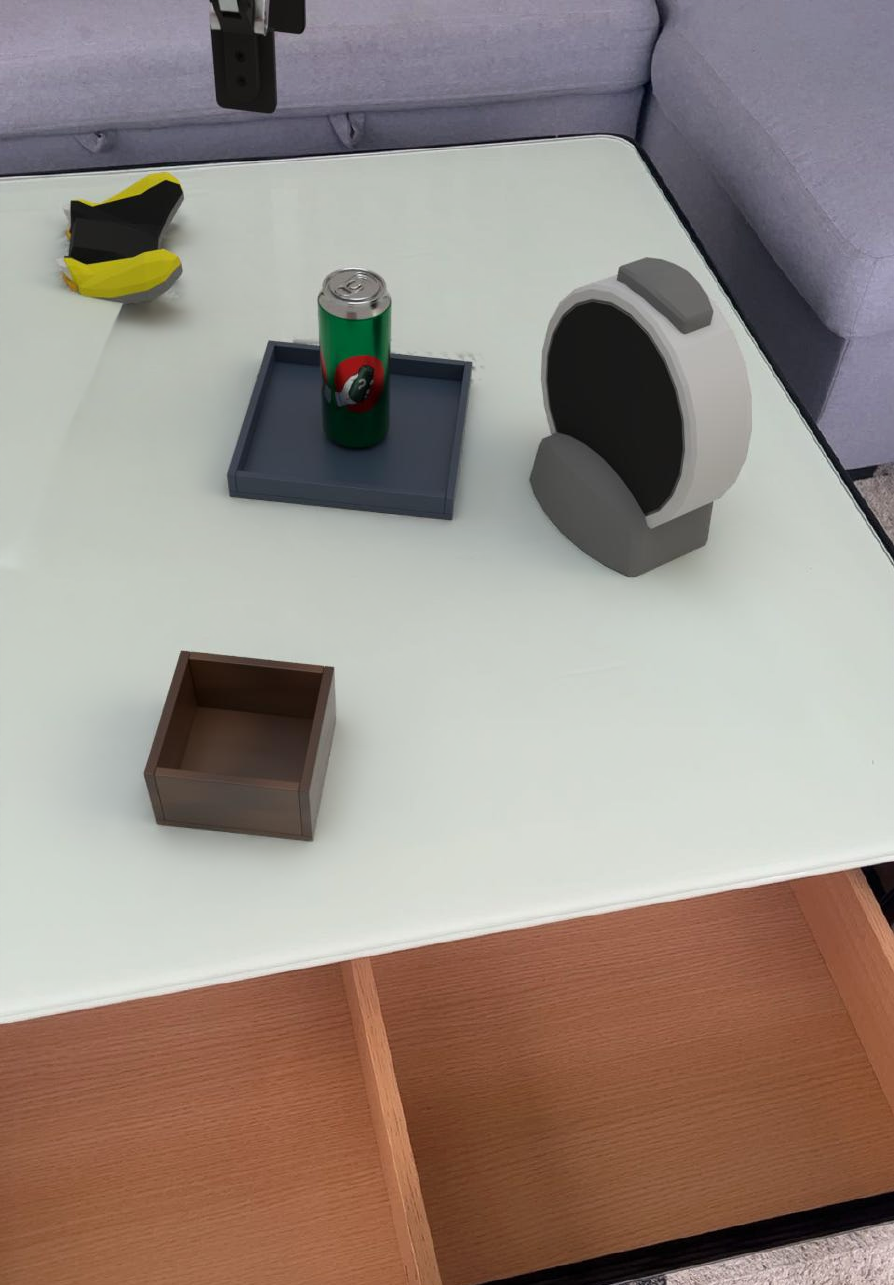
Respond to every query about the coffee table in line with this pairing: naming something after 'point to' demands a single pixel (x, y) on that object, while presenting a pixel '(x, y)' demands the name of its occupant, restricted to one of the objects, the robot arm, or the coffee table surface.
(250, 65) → the robot arm
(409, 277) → the coffee table surface
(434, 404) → the tray
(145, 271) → the gaming controller
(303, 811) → the dark wooden box
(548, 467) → the alarm clock
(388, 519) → the coffee table surface
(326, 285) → the soda can
